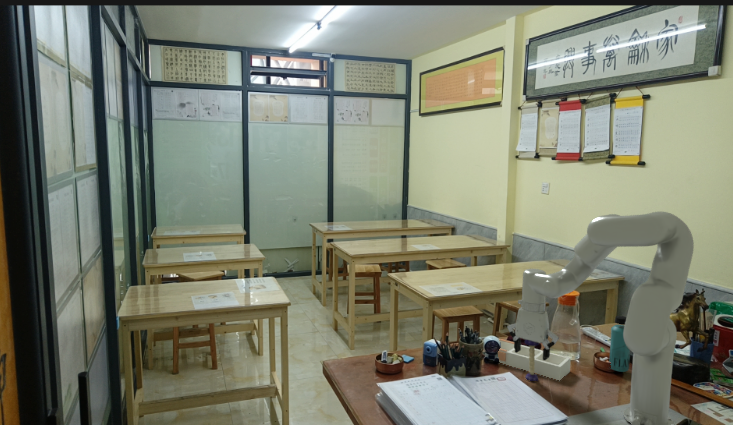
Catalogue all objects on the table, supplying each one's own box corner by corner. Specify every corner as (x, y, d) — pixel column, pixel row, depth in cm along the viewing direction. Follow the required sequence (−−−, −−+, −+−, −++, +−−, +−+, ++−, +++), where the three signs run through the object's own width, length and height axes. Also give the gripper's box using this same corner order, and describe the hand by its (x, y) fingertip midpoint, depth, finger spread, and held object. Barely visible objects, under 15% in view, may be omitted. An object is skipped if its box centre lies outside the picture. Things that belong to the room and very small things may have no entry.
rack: (559, 381, 160) (559, 366, 160) (483, 359, 179) (483, 345, 178) (569, 371, 168) (570, 357, 168) (496, 350, 187) (496, 337, 186)
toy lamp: (528, 383, 160) (530, 334, 158) (520, 377, 164) (522, 330, 162) (540, 381, 161) (542, 333, 159) (532, 375, 165) (534, 328, 164)
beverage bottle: (610, 374, 166) (613, 319, 164) (606, 367, 172) (609, 313, 170) (631, 377, 164) (634, 320, 162) (626, 369, 170) (630, 314, 168)
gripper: (504, 303, 163) (502, 351, 164) (555, 314, 151) (552, 366, 153) (513, 298, 168) (512, 345, 170) (563, 308, 157) (561, 358, 159)
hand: (531, 355), depth 162 cm, fingers open, 9 cm apart
